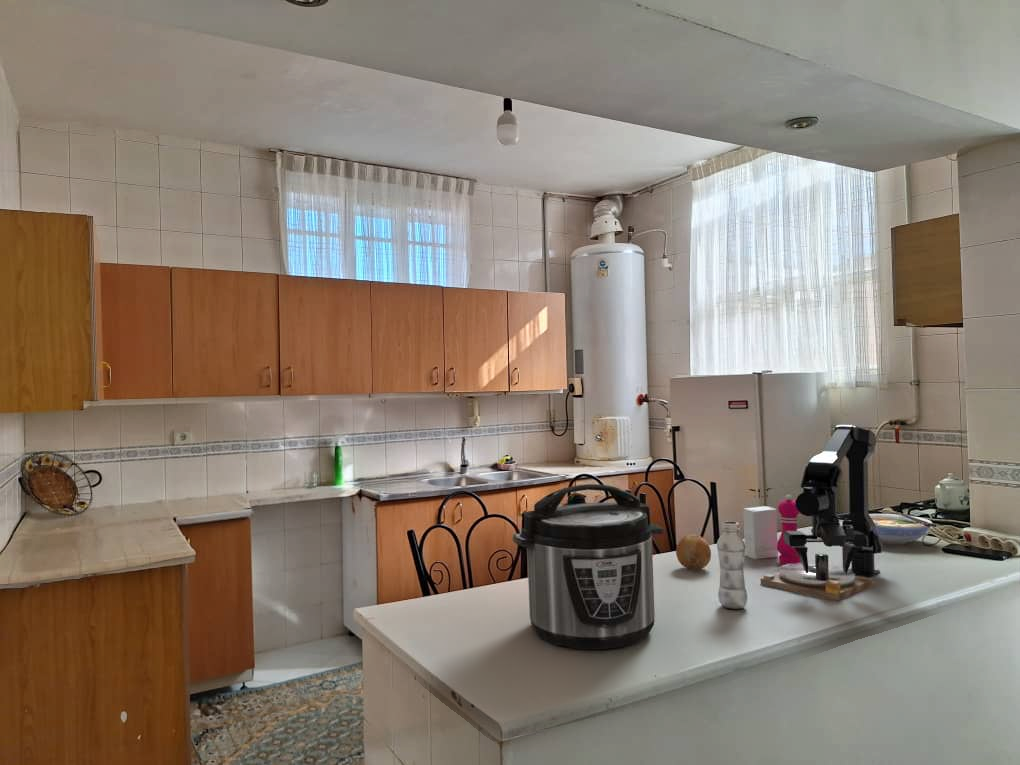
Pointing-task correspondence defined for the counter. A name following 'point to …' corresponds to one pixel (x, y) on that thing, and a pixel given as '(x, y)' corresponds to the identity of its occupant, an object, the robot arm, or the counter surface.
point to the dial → (816, 573)
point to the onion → (693, 552)
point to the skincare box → (760, 532)
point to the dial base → (830, 592)
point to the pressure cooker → (590, 568)
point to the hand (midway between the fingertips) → (825, 573)
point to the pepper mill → (788, 524)
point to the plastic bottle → (731, 567)
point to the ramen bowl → (900, 527)
